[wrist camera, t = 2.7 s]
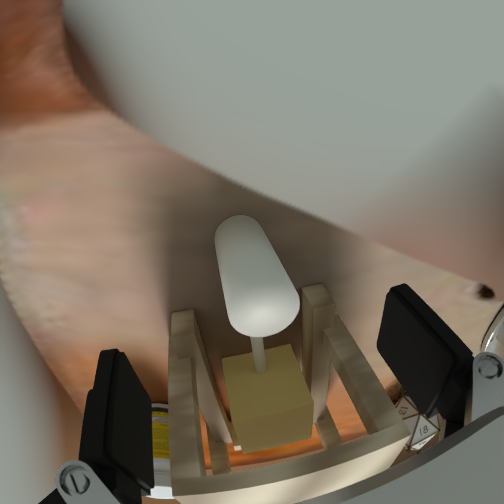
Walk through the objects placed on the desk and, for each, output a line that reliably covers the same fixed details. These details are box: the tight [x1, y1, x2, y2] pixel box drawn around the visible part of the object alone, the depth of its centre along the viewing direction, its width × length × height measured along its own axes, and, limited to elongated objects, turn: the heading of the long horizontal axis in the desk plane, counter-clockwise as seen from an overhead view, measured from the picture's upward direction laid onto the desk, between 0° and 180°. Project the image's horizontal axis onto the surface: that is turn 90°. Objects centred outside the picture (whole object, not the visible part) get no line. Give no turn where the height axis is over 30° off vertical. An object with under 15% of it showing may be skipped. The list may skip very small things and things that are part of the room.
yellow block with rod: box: [214, 215, 314, 454], centre depth 19 cm, size 6×17×7 cm, turn 7°
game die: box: [394, 390, 441, 454], centre depth 30 cm, size 9×8×10 cm
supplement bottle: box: [147, 403, 174, 499], centre depth 22 cm, size 5×5×8 cm
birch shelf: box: [168, 283, 411, 504], centre depth 19 cm, size 12×16×12 cm
